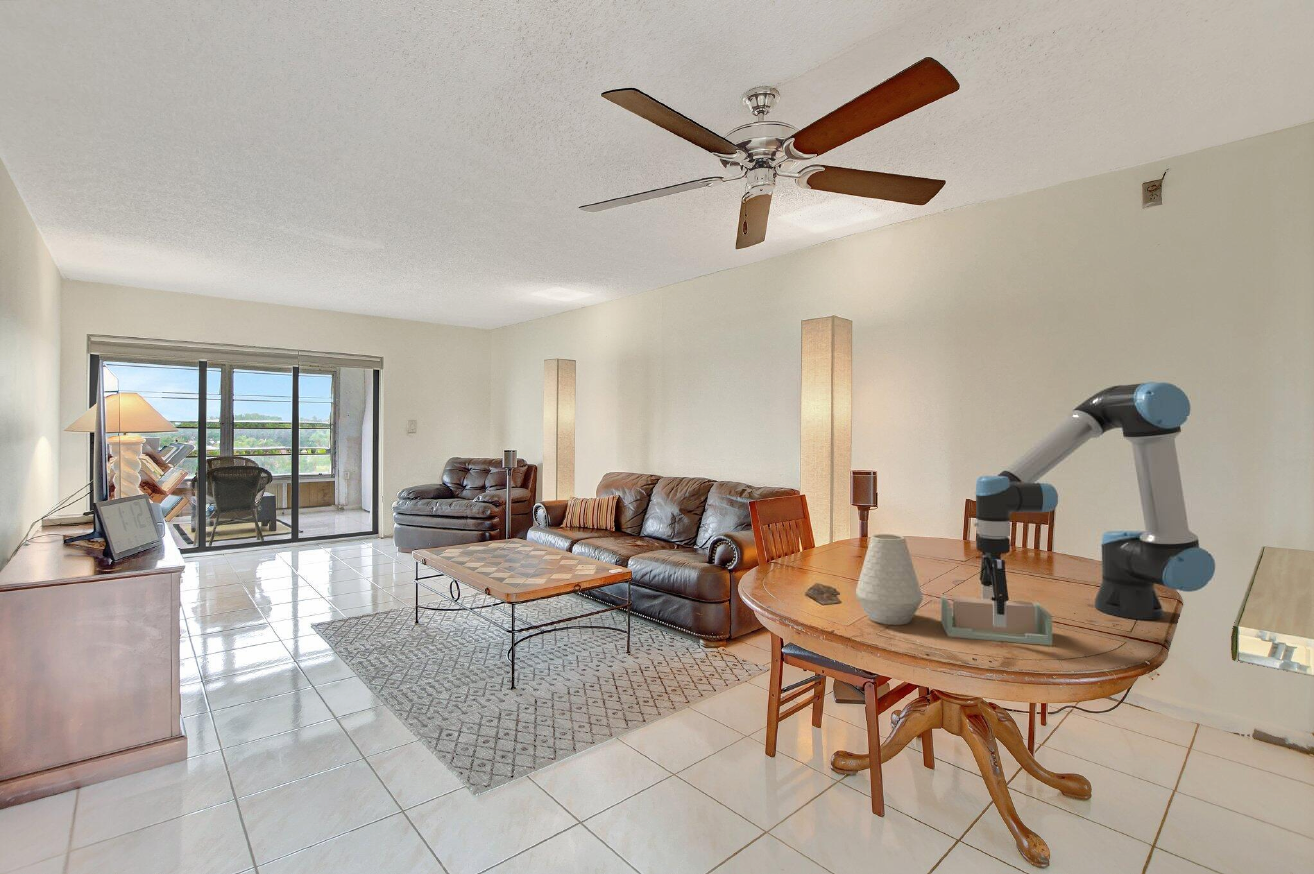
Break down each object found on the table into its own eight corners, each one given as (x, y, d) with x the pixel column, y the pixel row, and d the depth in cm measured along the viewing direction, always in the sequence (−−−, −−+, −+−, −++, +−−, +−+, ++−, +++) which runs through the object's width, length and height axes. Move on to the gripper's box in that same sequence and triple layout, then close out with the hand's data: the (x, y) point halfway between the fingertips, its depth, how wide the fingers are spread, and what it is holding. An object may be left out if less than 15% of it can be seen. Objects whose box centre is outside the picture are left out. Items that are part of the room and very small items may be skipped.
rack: (1038, 630, 154) (1038, 602, 154) (1052, 645, 143) (1052, 616, 143) (941, 622, 161) (941, 596, 161) (947, 636, 150) (947, 608, 150)
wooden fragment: (842, 607, 177) (842, 603, 177) (804, 605, 179) (804, 601, 179) (837, 585, 202) (837, 582, 202) (804, 583, 204) (804, 580, 204)
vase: (876, 631, 155) (875, 544, 154) (844, 611, 172) (844, 532, 172) (936, 626, 157) (935, 541, 157) (899, 607, 175) (899, 530, 174)
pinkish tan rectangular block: (1030, 629, 151) (1030, 602, 151) (1035, 634, 147) (1035, 607, 147) (953, 622, 157) (952, 596, 157) (955, 628, 153) (955, 601, 153)
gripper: (967, 527, 165) (968, 603, 165) (987, 544, 141) (987, 632, 141) (998, 528, 162) (998, 605, 163) (1022, 546, 139) (1023, 635, 139)
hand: (993, 618), depth 152 cm, fingers open, 13 cm apart
